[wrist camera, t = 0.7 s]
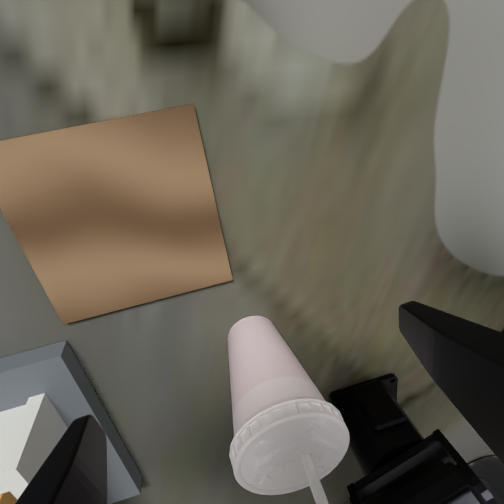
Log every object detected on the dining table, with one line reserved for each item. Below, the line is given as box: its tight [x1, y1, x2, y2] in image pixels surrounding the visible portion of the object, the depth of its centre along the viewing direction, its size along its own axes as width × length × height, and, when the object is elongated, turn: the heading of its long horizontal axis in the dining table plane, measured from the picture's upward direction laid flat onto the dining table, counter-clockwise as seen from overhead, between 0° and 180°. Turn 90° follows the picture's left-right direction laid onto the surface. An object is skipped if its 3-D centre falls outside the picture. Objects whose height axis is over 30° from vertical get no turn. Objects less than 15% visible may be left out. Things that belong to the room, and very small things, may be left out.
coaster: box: [0, 104, 233, 324], centre depth 20 cm, size 11×11×1 cm
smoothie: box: [228, 316, 350, 504], centre depth 20 cm, size 6×6×14 cm
